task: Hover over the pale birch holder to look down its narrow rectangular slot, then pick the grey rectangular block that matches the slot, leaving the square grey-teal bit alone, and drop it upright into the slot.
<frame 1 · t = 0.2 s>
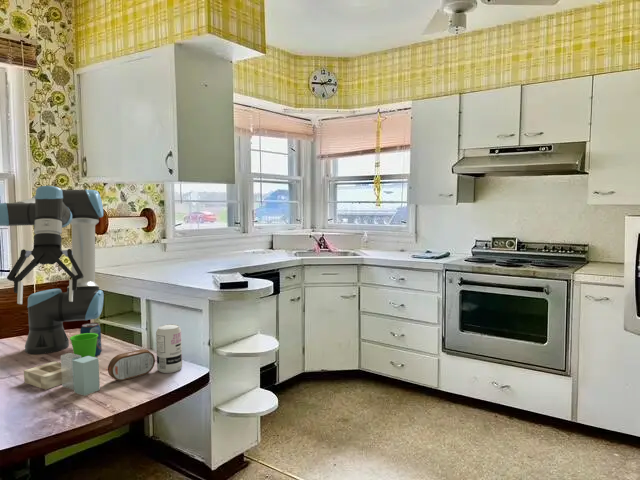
hand: (45, 302, 141), 27 cm above the table, tool tilted 15°, fingers open, 13 cm apart
supplement can: (169, 370, 160), on the table
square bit: (87, 391, 142), on the table
cup: (85, 367, 163), on the table
grey rectangular block: (72, 386, 145), on the table
slotted holder: (50, 380, 150), on the table
soda can: (91, 356, 176), on the table
tin: (133, 377, 153), on the table
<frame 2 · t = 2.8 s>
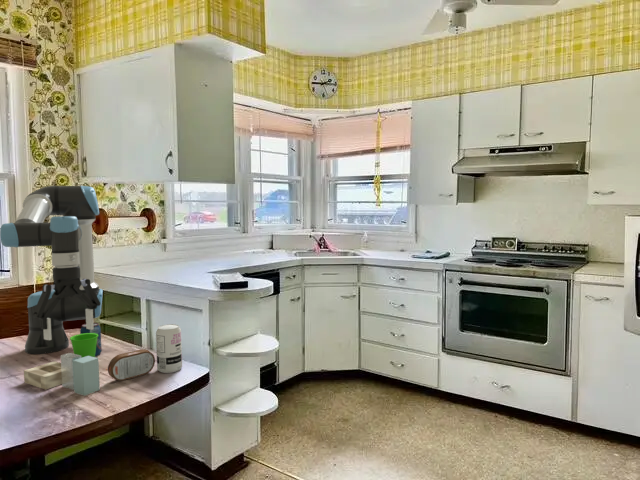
hand: (69, 334, 144), 17 cm above the table, tool pointing down, fingers open, 13 cm apart
nothing on the table moved.
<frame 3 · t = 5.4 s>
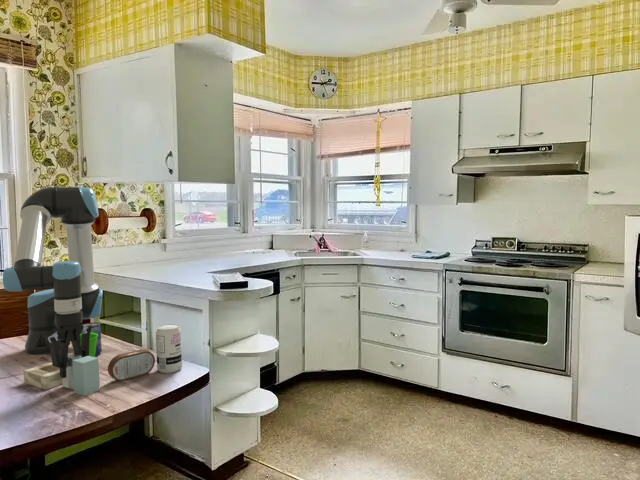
hand: (72, 384, 145), 1 cm above the table, tool pointing down, fingers closed on grey rectangular block, 3 cm apart
grey rectangular block: (72, 386, 145), on the table, touching gripper
everything else where it was.
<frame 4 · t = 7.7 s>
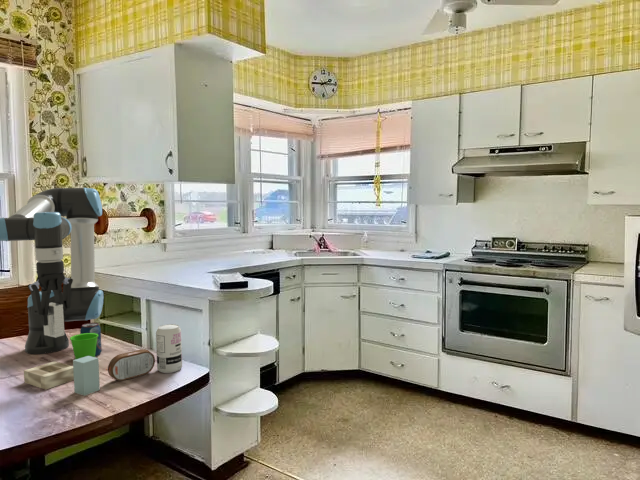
hand: (54, 333, 148), 16 cm above the table, tool pointing down, fingers closed on grey rectangular block, 3 cm apart
grey rectangular block: (54, 335, 148), point 15 cm above the table, touching gripper
everything else where it was.
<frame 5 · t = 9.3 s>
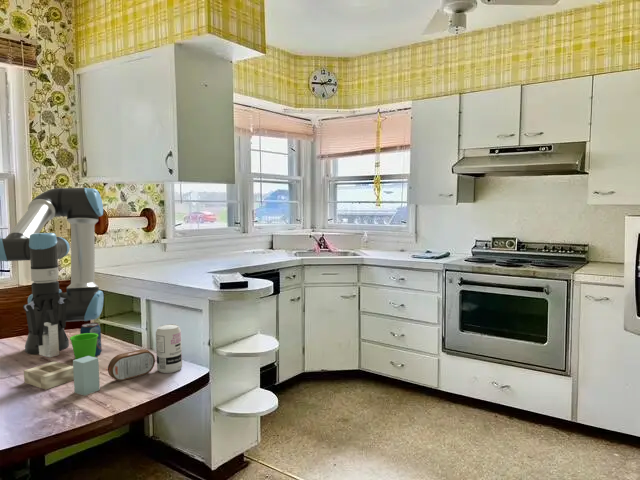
hand: (49, 353, 149), 9 cm above the table, tool pointing down, fingers closed on grey rectangular block, 3 cm apart
grey rectangular block: (49, 354, 150), point 9 cm above the table, touching gripper
everything else where it was.
when the fingers open (7 cm above the table, at t = 10.4 s): grey rectangular block drops 6 cm, resting in slotted holder.
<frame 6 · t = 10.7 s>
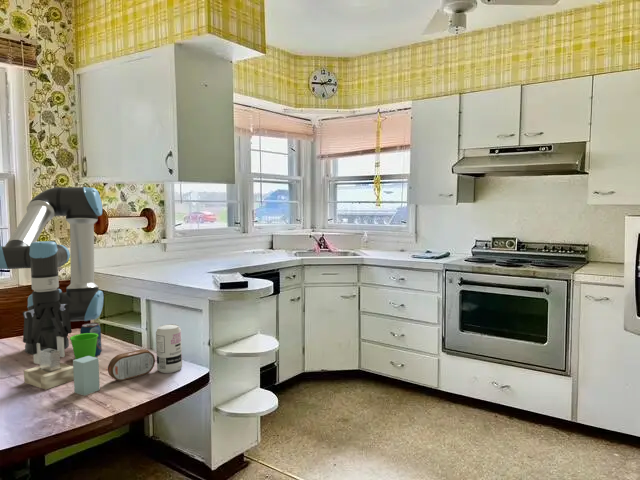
hand: (49, 359, 150), 7 cm above the table, tool pointing down, fingers open, 7 cm apart
grey rectangular block: (50, 380, 150), resting in slotted holder
everything else where it was.
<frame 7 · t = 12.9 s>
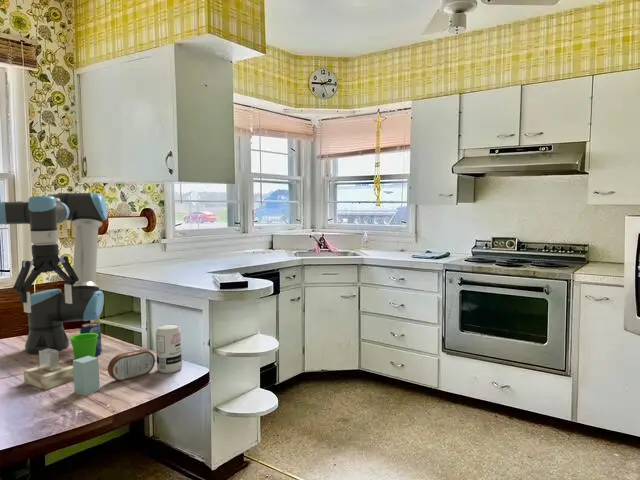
hand: (49, 307, 153), 23 cm above the table, tool pointing down, fingers open, 13 cm apart
nothing on the table moved.
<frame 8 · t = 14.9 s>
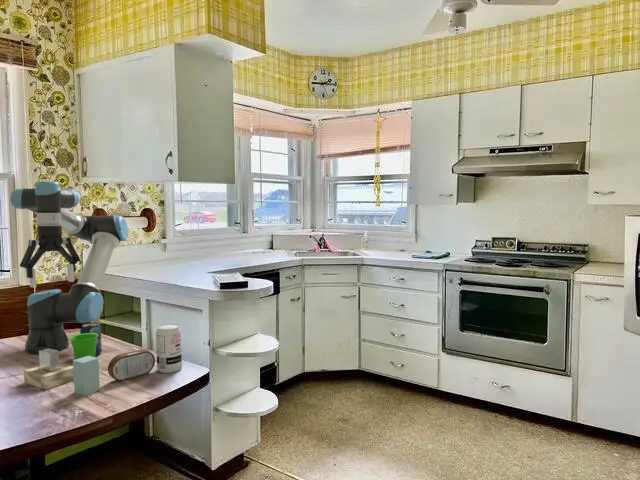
hand: (52, 284, 166), 29 cm above the table, tool pointing down, fingers open, 13 cm apart
nothing on the table moved.
at the end: grey rectangular block 0.1 cm off-centre on the slotted holder, point 0.0 cm above the slotted holder's base; grey rectangular block tilted 0°; the gripper is holding nothing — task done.
